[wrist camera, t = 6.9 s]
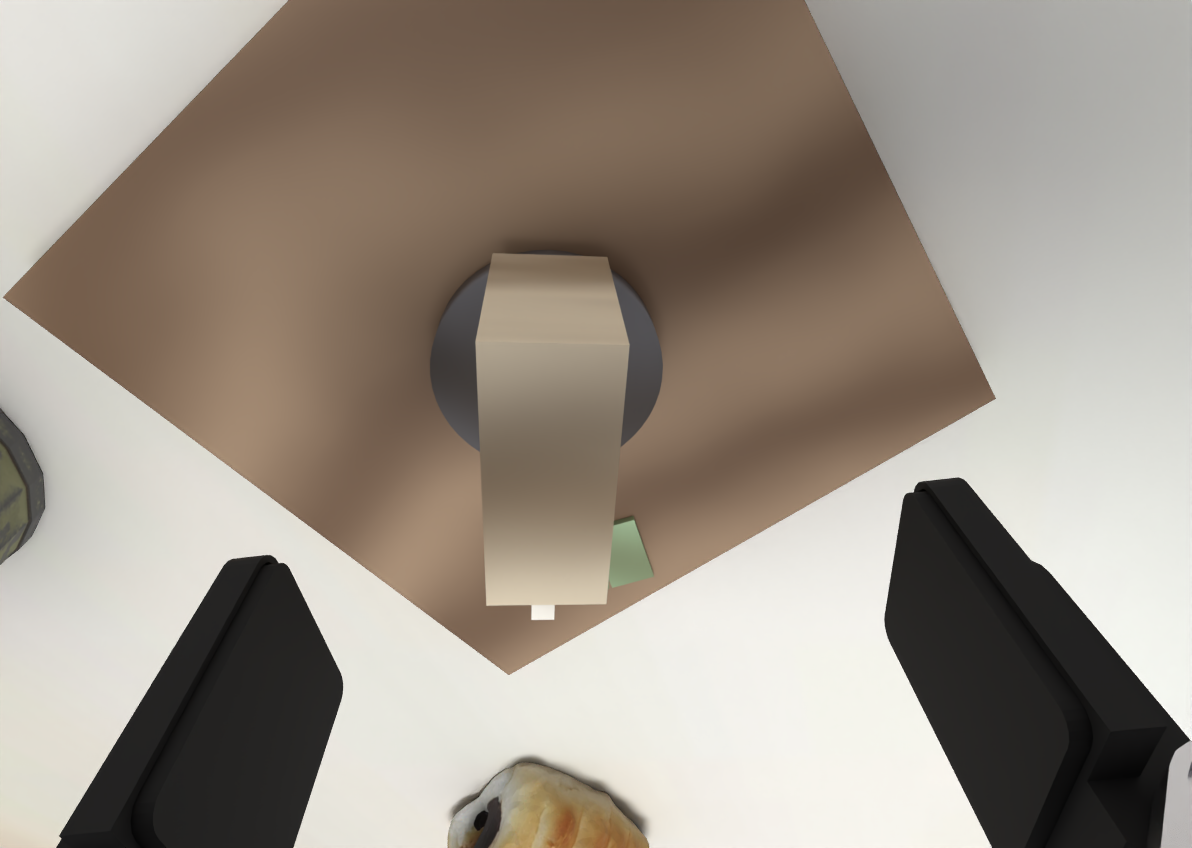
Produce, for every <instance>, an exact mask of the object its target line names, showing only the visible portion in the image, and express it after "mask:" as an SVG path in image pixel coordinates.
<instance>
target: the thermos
mask: <svg viewBox="0 0 1192 848" xmlns="http://www.w3.org/2000/svg"><path fill="white" fill-rule="evenodd" d="M44 509H45V501H44V487H43V474H42V472H41V470H40V468H39V466H38V464H37V461H36V459H35V457H34V455H33V453H32V451H31V449H30V447H29V445H28V443H27V441H26V439H25V437H24V435H23V434H22V433H21V432H20V431H19V430H18V429H17V428H16V427H15V425H14V424H13V423H12V422H11V421H10V420H9V419H8V418H7V417H6V416H5V414H4V413H3V412H2V411H1V410H0V565H1V564H2V563H3V562H4V561H5V560H6V559H7V558H8V557H10V556H11V555H12V554H14V553H15V552H16V551H18V550H19V549H20V548H21V547H22V546H23V545H24V544H25V543H26V542H27V541H28V539H29V538H30V537H31V536H32V535H33V533H34V530H35V528H36V526H37V524H38V522H39V520H40V518H41V515H42V513H43V511H44Z"/></svg>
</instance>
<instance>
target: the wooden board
mask: <svg viewBox="0 0 1192 848" xmlns="http://www.w3.org/2000/svg"><path fill="white" fill-rule="evenodd" d="M532 250H557V251H566V252H571V253H575V254H579V255H583V256H595V257H607V258H608V262H609V266H610V269H612V270H613V271H614V272H616V273H617V274H619V275H620V276H621V277H622V278H623V279H624V280H626V281H627V282H628V283H629V284H630V285H631V286H632V287H633V289H634V290H635V291H636V292H637V294H638V295H639V296H640V298H641V299H642V301H643V303H644V304H645V306H646V308H647V310H648V312H649V314H650V317H651V319H652V322H653V325H654V328H655V330H656V333H657V336H658V340H659V344H660V347H661V351H662V361H663V374H662V383H661V388H660V392H659V395H658V398H657V401H656V404H655V406H654V408H653V410H652V412H651V414H650V416H649V417H648V419H647V420H646V422H645V423H644V424H643V426H642V427H641V428H640V429H639V431H638V432H637V433H636V434H635V435H634V436H633V437H632V438H631V439H630V440H629V441H627V442H626V443H625V444H624V445H623V446H621V447H620V458H619V469H618V480H617V491H616V503H615V514H614V525H613V536H612V547H611V558H610V569H609V581H608V592H607V603H606V604H585V605H555V611H554V620H531V612H532V605H498V606H486V584H485V560H484V536H483V512H482V488H481V464H480V452H479V451H478V450H476V449H475V448H473V447H472V446H471V445H469V444H468V443H467V442H466V441H465V440H463V439H462V438H461V437H460V436H459V435H458V434H457V433H456V432H455V430H454V429H453V428H452V427H451V426H450V425H449V423H448V422H447V420H446V419H445V417H444V415H443V414H442V412H441V410H440V408H439V406H438V404H437V402H436V399H435V395H434V392H433V389H432V384H431V377H430V357H431V350H432V345H433V342H434V338H435V335H436V332H437V329H438V326H439V323H440V319H441V316H442V314H443V312H444V310H445V308H446V306H447V304H448V302H449V301H450V299H451V298H452V296H453V295H454V293H455V292H456V291H457V289H458V288H459V287H460V286H461V285H462V284H463V283H464V282H465V281H466V280H467V279H468V278H469V277H471V276H472V275H473V274H474V273H475V272H477V271H478V270H480V269H481V268H483V267H485V266H486V265H488V264H489V263H491V259H492V254H493V253H505V254H516V253H520V252H526V251H532ZM3 298H4V299H6V300H7V301H8V302H10V303H11V304H12V305H14V306H15V307H16V308H18V309H19V310H20V311H22V312H23V313H24V314H26V315H27V316H28V317H30V318H31V319H33V320H34V321H35V322H37V323H38V324H39V325H41V326H42V327H43V328H45V329H46V330H47V331H49V332H50V333H51V334H53V335H54V336H55V337H57V338H58V339H59V340H61V341H62V342H63V343H65V344H66V345H67V346H69V347H70V348H71V349H73V350H74V351H75V352H77V353H78V354H79V355H81V356H82V357H83V358H85V359H86V360H87V361H89V362H90V363H91V364H93V365H94V366H95V367H97V368H98V369H99V370H101V371H102V372H104V373H105V374H106V375H108V376H109V377H110V378H112V379H113V380H114V381H116V382H117V383H118V384H120V385H121V386H122V387H124V388H125V389H126V390H128V391H129V392H130V393H132V394H133V395H134V396H136V397H137V398H138V399H140V400H141V401H142V402H144V403H145V404H146V405H148V406H149V407H150V408H152V409H153V410H154V411H156V412H157V413H158V414H160V415H161V416H162V417H164V418H165V419H166V420H168V421H169V422H171V423H172V424H173V425H175V426H176V427H177V428H179V429H180V430H181V431H183V432H184V433H185V434H187V435H188V436H189V437H191V438H192V439H193V440H195V441H196V442H197V443H199V444H200V445H201V446H203V447H204V448H205V449H207V450H208V451H209V452H211V453H212V454H213V455H215V456H216V457H217V458H219V459H220V460H221V461H223V462H224V463H225V464H227V465H228V466H229V467H231V468H232V469H233V470H235V471H236V472H237V473H239V474H240V475H242V476H243V477H244V478H246V479H247V480H248V481H250V482H251V483H252V484H254V485H255V486H256V487H258V488H259V489H260V490H262V491H263V492H264V493H266V494H267V495H268V496H270V497H271V498H272V499H274V500H275V501H276V502H278V503H279V504H280V505H282V506H283V507H284V508H286V509H287V510H288V511H290V512H291V513H292V514H294V515H295V516H296V517H298V518H299V519H300V520H302V521H303V522H304V523H306V524H307V525H308V526H310V527H311V528H313V529H314V530H315V531H317V532H318V533H319V534H321V535H322V536H323V537H325V538H326V539H327V540H329V541H330V542H331V543H333V544H334V545H335V546H337V547H338V548H339V549H341V550H342V551H343V552H345V553H346V554H347V555H349V556H350V557H351V558H353V559H354V560H355V561H357V562H358V563H359V564H361V565H362V566H363V567H365V568H366V569H367V570H369V571H370V572H371V573H373V574H374V575H375V576H377V577H378V578H379V579H381V580H382V581H384V582H385V583H386V584H388V585H389V586H390V587H392V588H393V589H394V590H396V591H397V592H398V593H400V594H401V595H402V596H404V597H405V598H406V599H408V600H409V601H410V602H412V603H413V604H414V605H416V606H417V607H418V608H420V609H421V610H422V611H424V612H425V613H426V614H428V615H429V616H430V617H432V618H433V619H434V620H436V621H437V622H438V623H440V624H441V625H442V626H444V627H445V628H446V629H448V630H449V631H450V632H452V633H453V634H455V635H456V636H457V637H459V638H460V639H461V640H463V641H464V642H465V643H467V644H468V645H469V646H471V647H472V648H473V649H475V650H476V651H477V652H479V653H480V654H481V655H483V656H484V657H485V658H487V659H488V660H489V661H491V662H492V663H493V664H495V665H496V666H497V667H499V668H500V669H501V670H503V671H504V672H505V673H507V674H508V675H510V674H511V673H513V672H515V671H517V670H519V669H520V668H522V667H524V666H526V665H527V664H529V663H531V662H533V661H534V660H536V659H538V658H540V657H541V656H543V655H545V654H547V653H548V652H550V651H552V650H554V649H556V648H557V647H559V646H561V645H563V644H564V643H566V642H568V641H570V640H571V639H573V638H575V637H577V636H578V635H580V634H582V633H584V632H585V631H587V630H589V629H591V628H593V627H594V626H596V625H598V624H600V623H601V622H603V621H605V620H607V619H608V618H610V617H612V616H614V615H615V614H617V613H619V612H621V611H622V610H624V609H626V608H628V607H630V606H631V605H633V604H635V603H637V602H638V601H640V600H642V599H644V598H645V597H647V596H649V595H651V594H652V593H654V592H656V591H658V590H659V589H661V588H663V587H665V586H667V585H668V584H670V583H672V582H674V581H675V580H677V579H679V578H681V577H682V576H684V575H686V574H688V573H689V572H691V571H693V570H695V569H696V568H698V567H700V566H702V565H704V564H705V563H707V562H709V561H711V560H712V559H714V558H716V557H718V556H719V555H721V554H723V553H725V552H726V551H728V550H730V549H732V548H733V547H735V546H737V545H739V544H741V543H742V542H744V541H746V540H748V539H749V538H751V537H753V536H755V535H756V534H758V533H760V532H762V531H763V530H765V529H767V528H769V527H770V526H772V525H774V524H776V523H778V522H779V521H781V520H783V519H785V518H786V517H788V516H790V515H792V514H793V513H795V512H797V511H799V510H800V509H802V508H804V507H806V506H807V505H809V504H811V503H813V502H814V501H816V500H818V499H820V498H822V497H823V496H825V495H827V494H829V493H830V492H832V491H834V490H836V489H837V488H839V487H841V486H843V485H844V484H846V483H848V482H850V481H851V480H853V479H855V478H857V477H859V476H860V475H862V474H864V473H866V472H867V471H869V470H871V469H873V468H874V467H876V466H878V465H880V464H881V463H883V462H885V461H887V460H888V459H890V458H892V457H894V456H896V455H897V454H899V453H901V452H903V451H904V450H906V449H908V448H910V447H911V446H913V445H915V444H917V443H918V442H920V441H922V440H924V439H925V438H927V437H929V436H931V435H933V434H934V433H936V432H938V431H940V430H941V429H943V428H945V427H947V426H948V425H950V424H952V423H954V422H955V421H957V420H959V419H961V418H962V417H964V416H966V415H968V414H970V413H971V412H973V411H975V410H977V409H978V408H980V407H982V406H984V405H985V404H987V403H989V402H991V401H992V400H994V399H996V398H995V396H994V394H993V392H992V390H991V388H990V386H989V384H988V381H987V379H986V377H985V375H984V373H983V371H982V369H981V367H980V365H979V363H978V361H977V359H976V356H975V354H974V352H973V350H972V348H971V346H970V344H969V342H968V340H967V338H966V336H965V334H964V332H963V329H962V327H961V325H960V323H959V321H958V319H957V317H956V315H955V313H954V311H953V309H952V307H951V304H950V302H949V300H948V298H947V296H946V294H945V292H944V290H943V288H942V286H941V284H940V282H939V279H938V277H937V275H936V273H935V271H934V269H933V267H932V265H931V263H930V261H929V259H928V257H927V254H926V252H925V250H924V248H923V246H922V244H921V242H920V240H919V238H918V236H917V234H916V232H915V230H914V227H913V225H912V223H911V221H910V219H909V217H908V215H907V213H906V211H905V209H904V207H903V205H902V202H901V200H900V198H899V196H898V194H897V192H896V190H895V188H894V186H893V184H892V182H891V180H890V177H889V175H888V173H887V171H886V169H885V167H884V165H883V163H882V161H881V159H880V157H879V155H878V153H877V150H876V148H875V146H874V144H873V142H872V140H871V138H870V136H869V134H868V132H867V130H866V128H865V125H864V123H863V121H862V119H861V117H860V115H859V113H858V111H857V109H856V107H855V105H854V103H853V100H852V98H851V96H850V94H849V92H848V90H847V88H846V86H845V84H844V82H843V80H842V78H841V75H840V73H839V71H838V69H837V67H836V65H835V63H834V61H833V59H832V57H831V55H830V53H829V51H828V48H827V46H826V44H825V42H824V40H823V38H822V36H821V34H820V32H819V30H818V28H817V26H816V23H815V21H814V19H813V17H812V15H811V13H810V11H809V9H808V7H807V5H806V3H805V1H804V0H289V1H288V2H287V3H286V4H285V5H284V6H283V7H282V8H281V9H280V10H279V11H278V12H277V13H276V14H275V15H274V16H273V17H272V18H271V19H270V20H269V21H268V22H267V23H266V25H265V26H264V27H263V28H262V29H261V30H260V31H259V32H258V33H257V34H256V35H255V36H254V37H253V38H252V39H251V40H250V41H249V42H248V43H247V44H246V45H245V46H244V47H243V48H242V49H241V50H240V52H239V53H238V54H237V55H236V56H235V57H234V58H233V59H232V60H231V61H230V62H229V63H228V64H227V65H226V66H225V67H224V68H223V69H222V70H221V71H220V72H219V73H218V74H217V75H216V76H215V77H214V79H213V80H212V81H211V82H210V83H209V84H208V85H207V86H206V87H205V88H204V89H203V90H202V91H201V92H200V93H199V94H198V95H197V96H196V97H195V98H194V99H193V100H192V101H191V102H190V103H189V104H188V106H187V107H186V108H185V109H184V110H183V111H182V112H181V113H180V114H179V115H178V116H177V117H176V118H175V119H174V120H173V121H172V122H171V123H170V124H169V125H168V126H167V127H166V128H165V129H164V130H163V131H162V133H161V134H160V135H159V136H158V137H157V138H156V139H155V140H154V141H153V142H152V143H151V144H150V145H149V146H148V147H147V148H146V149H145V150H144V151H143V152H142V153H141V154H140V155H139V156H138V157H137V158H136V160H135V161H134V162H133V163H132V164H131V165H130V166H129V167H128V168H127V169H126V170H125V171H124V172H123V173H122V174H121V175H120V176H119V177H118V178H117V179H116V180H115V181H114V182H113V183H112V184H111V185H110V187H109V188H108V189H107V190H106V191H105V192H104V193H103V194H102V195H101V196H100V197H99V198H98V199H97V200H96V201H95V202H94V203H93V204H92V205H91V206H90V207H89V208H88V209H87V210H86V211H85V212H84V214H83V215H82V216H81V217H80V218H79V219H78V220H77V221H76V222H75V223H74V224H73V225H72V226H71V227H70V228H69V229H68V230H67V231H66V232H65V233H64V234H63V235H62V236H61V237H60V238H59V239H58V241H57V242H56V243H55V244H54V245H53V246H52V247H51V248H50V249H49V250H48V251H47V252H46V253H45V254H44V255H43V256H42V257H41V258H40V259H39V260H38V261H37V262H36V263H35V264H34V265H33V266H32V268H31V269H30V270H29V271H28V272H27V273H26V274H25V275H24V276H23V277H22V278H21V279H20V280H19V281H18V282H17V283H16V284H15V285H14V286H13V287H12V288H11V289H10V290H9V291H8V292H7V293H6V295H5V296H4V297H3Z"/></svg>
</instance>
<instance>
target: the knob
mask: <svg viewBox="0 0 1192 848" xmlns="http://www.w3.org/2000/svg"><path fill="white" fill-rule="evenodd" d="M662 374H663V361H662V351H661V347H660V344H659V340H658V336H657V333H656V330H655V328H654V325H653V322H652V319H651V317H650V314H649V312H648V310H647V308H646V306H645V304H644V303H643V301H642V299H641V298H640V296H639V295H638V294H637V292H636V291H635V290H634V289H633V287H632V286H631V285H630V284H629V283H628V282H627V281H626V280H624V279H623V278H622V277H621V276H620V275H619V274H617V273H616V272H614V271H613V270H612V269H610V266H609V262H608V258H607V257H595V256H583V255H579V254H575V253H571V252H566V251H557V250H532V251H526V252H520V253H516V254H505V253H493V254H492V259H491V263H489V264H488V265H486V266H485V267H483V268H481V269H480V270H478V271H477V272H475V273H474V274H473V275H472V276H471V277H469V278H468V279H467V280H466V281H465V282H464V283H463V284H462V285H461V286H460V287H459V288H458V289H457V291H456V292H455V293H454V295H453V296H452V298H451V299H450V301H449V302H448V304H447V306H446V308H445V310H444V312H443V314H442V316H441V319H440V323H439V326H438V329H437V332H436V335H435V338H434V342H433V345H432V350H431V357H430V377H431V384H432V389H433V392H434V395H435V399H436V402H437V404H438V406H439V408H440V410H441V412H442V414H443V415H444V417H445V419H446V420H447V422H448V423H449V425H450V426H451V427H452V428H453V429H454V430H455V432H456V433H457V434H458V435H459V436H460V437H461V438H462V439H463V440H465V441H466V442H467V443H468V444H469V445H471V446H472V447H473V448H475V449H476V450H478V451H479V452H480V464H481V488H482V512H483V536H484V560H485V584H486V606H498V605H532V612H531V620H554V611H555V605H585V604H606V603H607V592H608V581H609V569H610V558H611V547H612V536H613V525H614V514H615V503H616V491H617V480H618V469H619V458H620V447H621V446H623V445H624V444H625V443H626V442H627V441H629V440H630V439H631V438H632V437H633V436H634V435H635V434H636V433H637V432H638V431H639V429H640V428H641V427H642V426H643V424H644V423H645V422H646V420H647V419H648V417H649V416H650V414H651V412H652V410H653V408H654V406H655V404H656V401H657V398H658V395H659V392H660V388H661V383H662Z"/></svg>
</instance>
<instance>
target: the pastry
mask: <svg viewBox="0 0 1192 848" xmlns="http://www.w3.org/2000/svg"><path fill="white" fill-rule="evenodd" d="M448 848H649V844H648V841H647V839H646V837H645V836H644V835H643V834H642V833H641V831H640V830H639V829H638V828H637V827H636V825H635V824H634V823H633V821H632V820H631V819H629V818H628V817H625V816H624V814H623V813H622V812H621V811H620V810H619V809H618V808H617V806H615V805H614V803H613V801H612V799H611V798H610V796H609V795H608V794H607V793H605V792H603V791H596V790H594V789H593V788H592V787H590V786H589V785H586V784H584V783H582V782H580V781H578V780H576V779H574V778H573V777H571V776H569V775H567V774H564V773H562V772H560V771H557V770H554V769H552V768H550V767H547V766H542V765H539V764H535V763H525V762H524V763H518V764H516V765H515V766H514V767H511V768H507V769H505V770H503V771H502V772H501V773H500V774H498V775H497V776H495V777H494V778H493V779H492V780H491V782H490V783H489V784H488V785H487V786H486V787H485V789H484V790H483V792H482V793H481V795H480V796H479V797H478V798H477V799H475V800H474V801H472V802H471V803H469V804H468V805H466V806H465V807H464V808H462V809H461V810H460V811H459V812H458V813H456V814H455V816H454V817H453V819H452V822H451V825H450V828H449V832H448Z"/></svg>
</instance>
